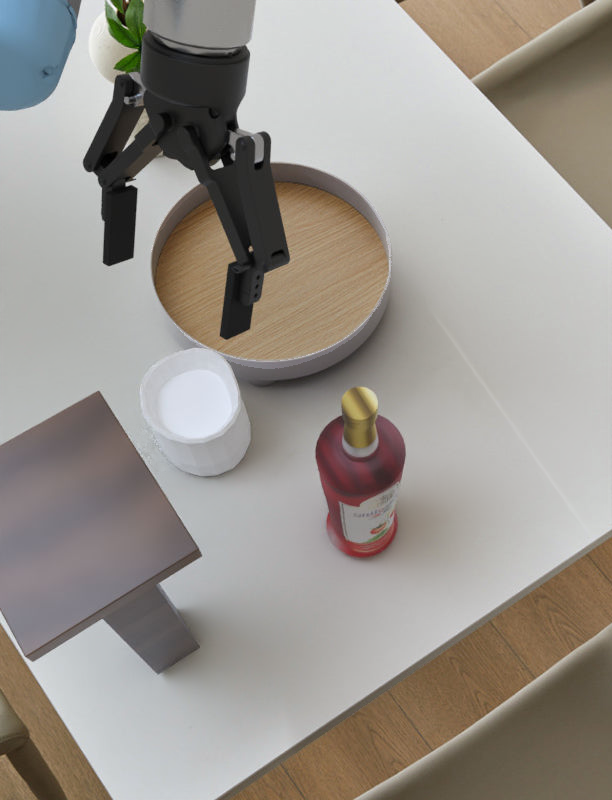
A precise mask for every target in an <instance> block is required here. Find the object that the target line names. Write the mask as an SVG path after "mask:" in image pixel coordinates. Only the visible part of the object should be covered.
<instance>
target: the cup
mask: <svg viewBox="0 0 612 800" xmlns="http://www.w3.org/2000/svg"><path fill="white" fill-rule="evenodd" d="M138 390H139V400H140V410H141V412H142V415H143V417H144V420H145V421H146V422H147V423H148V424H149V426H151V429H152V432H153V435H154V437H155V440H156V442H157V444H158V446H159V449H160V451H161V452H162V453H163V455H164V456H165V457H166V458H167V460H168V461H169V462H170V463H171V464H172V465H174V466H176V467H177V468H178V469H180V470H181V471H183V472H184V473H185V474H190V475H195V476H198V477H211V476H212V477H213V476H219V475H221V474H224V473H226V472H228V471H231V470H233V469H234V468H235V467H236V466H237V465H238V464H239V463H240V462H241V460H242V459H244V458H245V455H246V452H247V451H248V448H249V445H250V443H251V441H252V440H251V436H252V435H251V434H252V433H251V431H252V430H251V423H250V419H249V415H248V412H247V408H246V405H245V402H244V401H243V399H242V397H241V389H240V386H239V383H238V380H237V378H236V375H235V373H234V370H233V368H232V366H231V364H230V363H229V362H228V361H227V359H226V358H225V357H224V356H223V355H222V354H221V353H218V352H216V351H214V350H213V349H210V348H204V347H192V348H187V349H183V350H179V351H176V352H173V353H171V354H169V355H167V356H164V357H163V358H161V359H159V360H158V361H157V362H155V363H154V364H153V365H151V366H150V367H149V369H148V370H147V371H146V373H145V375H144V376H143V377H142V380H141V383H140V387H139V389H138Z"/></svg>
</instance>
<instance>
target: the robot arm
mask: <svg viewBox="0 0 612 800" xmlns="http://www.w3.org/2000/svg"><path fill="white" fill-rule="evenodd" d="M81 4H82V0H0V112H3V111H4V112H13V111H14V112H16V111H21V110H26V109H30V108H34V107H36V106H38V105H40V104H41V103H43V102H45V101H46V100H47V99H48V98H49V97H51V95H52V94H53V93H54V92H55V90H56V89H57V87H58V85H59V82H60V80H61V78H62V75H63V72H64V70H65V67H66V64H67V61H68V58H69V56H70V53H71V51H72V49H73V46H74V44H75V42H76V39H77V29H78V18H79V14H80V10H81ZM256 5H257V0H143V12H142V13H143V15H142V24H144V26H145V27H146V28H147V30H146V31H145V32H144V33H143V35H142V37H141V38H142V39H141V53H140V54H141V55H140V69H139V70H138V71H132V72H126V73H122V74H116V76H115V78H114V84H113V92H112V98H111V99H112V100H111V101H110V104H109V106H108V107H107V110H106V111H105V113H104V116H103V118H102V119H101V121H100V124H99V127H98V129H97V131H95V134H94V137H93V139H92V141H91V142H90V145H89V147H88V149H87V151H86V153H85V155H84V157H83V159H82V165H83V168H84V170H85V172H87V173H93V174H94V175H95V176H96V177H97V183H98V185H99V186H100V188H101V203H100V205H101V208H100V215H101V220H102V221H103V243H102V244H103V246H102V264H104V265H106V266H107V267H111V266H114V265H117V264H120V263H123V262H127V261H129V260H131V259H132V260H133V259H134V257H135V244H136V243H135V242H136V241H135V240H136V227H137V226H136V225H137V224H136V223H137V207H138V192H139V191H138V190H139V188H138V187H136V186H135V185H133V184H129V185H127V183H130V182H134V181H136V180H137V178H135V177H136V176H137V175H138V174H140V173H141V172H142V170H143V169H145V168H146V167H147V166H148V165H149V164H150V163H151V162H152V161H154V159H155V158H156V157H158V156H159V155H160V154H162V156H164V157H166V158H168V159H170V160H175V161H178V162H179V163H180V164H181V165H182V166H183V167H184V168H186V169H188V170H189V171H194V173H195V176H196V179H197V181H198V183H199V184H200V185H202V186H204V187H205V188H206V189H207V192H208V195H209V197H210V200H211V202H212V204H213V206H214V209H215V211H216V214H217V216H218V219H219V221H220V224H221V226H222V229H223V231H224V233H225V236H226V238H227V241H228V243H229V246H230V249H231V251H232V253H233V255H234V258H235V261H232V262H229V263H228V264H227V271H226V280H225V288H224V295H223V297H224V298H223V303H222V312H221V320H220V328H219V337H220V338H222V339H224V340H225V341H229V340H230V339H233V338H235V337H237V336H240V335H241V334H243V333H246V332H247V331H250V330H251V324H252V319H253V318H252V317H253V310H254V304H255V303H257V302H259V301H260V300H261V298H262V294H263V289H264V288H263V287H264V281H265V274H267V273H269V272H271V271H274V270H277V269H278V268H281V267H283V266H286V265H288V264H289V263H290V261H291V254H290V251H289V246H288V242H287V237H286V232H285V231H286V230H285V228H284V227H285V226H284V223H283V217H282V213H281V208H280V204H279V200H278V195H277V190H276V185H275V180H274V176H273V171H272V166H271V155H272V138H271V135H270V134H269V132H267V131H265V130H263V131H259V132H255V133H253V132H250V131H247V130H244V129H241V128H240V125H239V122H238V109H239V107H240V105H241V104H242V101H243V99H244V98H245V96H246V92H247V86H248V76H249V68H250V62H251V61H250V60H251V51H250V50H249V48H248V46H247V44H249V43H250V42H251V41H252V38H253V31H254V23H255V15H256V14H255V13H256ZM144 111H145V112H146V115H147V117H148V121H147V123H146V124H145V125H143V127H142V128H141V129H140V130H139V131H138V132H137V133H136V134H135V135H134V136H133V137H134V139H133V141H132V142H130V144H129V145H127V144H128V142H129V140H130V138H131V136H132V134H133V132H134V130H135V128H136V126H137V124H138V122H139V121H140V119H141V117H142V116H143V113H144ZM126 146H127V147H126ZM220 160H221V163H222V167H218V168H214V169H213V168H212V167H213V166H215V165H216V164H217V163H219V161H220ZM250 247H251V249H252V250H250Z"/></svg>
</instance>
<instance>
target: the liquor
mask: <svg viewBox="0 0 612 800" xmlns="http://www.w3.org/2000/svg"><path fill="white" fill-rule="evenodd" d="M340 403H341V404H340V405H341V407H340V408H341V415H339V416H336V417H335V418H334V419H332V420H331V421H330V422H328V423H327V424H326V426H324V428H323V429H322V430H321V432H320V434H319V436H318V438H317V440H316V445H315V451H314V453H315V454H314V455H315V456H314V457H315V462H316V467H317V469H318V475H319V479H320V483H321V488H322V492H323V495H324V497H325V501H326V505H327V509H328V512H327V516H326V521H325V522H326V523H325V524H326V525H325V527H326V531H327V535H328V537H329V539H330V541H331V542H332V544H333V546H334V547H336V548H337V549H338V550H339V551H340V552H341V553H344V554H345V555H348V556H351V557H354V558H368V557H373V556H374V557H375V556H377V555H378V554H381V553H382V552H383V551H385V550H386V549H387V548H388V547H389V546H390V545H391V544H392V542H393V541H394V539H395V538H396V535H397V533H398V526H399V518H398V515H397V511H396V505H397V500H398V496H399V491H400V488H401V485H402V479H403V472H404V467H405V463H406V456H407V453H406V452H407V451H406V443H405V439H404V437H403V435H402V434H401V431H400V430H399V428H397V426H396V425H395V423H393V422H392V421H391V420H389V419H388V418H386V417H384V415H383V416H382V415H381V414H378V413H379V401H378V397H377V395H376V393H375V392H374V391H373V390H371V389H370V388H368V387H366V386H365V387H364V386H355V387H352V388H349V389H348V390H346V392H345V393H344V394H343V396H342V398H341V401H340Z"/></svg>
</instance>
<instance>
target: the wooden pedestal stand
mask: <svg viewBox="0 0 612 800" xmlns="http://www.w3.org/2000/svg"><path fill="white" fill-rule="evenodd" d="M202 557H203V553H202V551H201V550H200V547H199V546H198V544H197V543H196V541H195V539H194V538H193V536H192V535H191V533H190V531H189V530H188V528H187V527H186V525H185V523H184V522H183V521H182V519H181V518H180V516H179V514H178V513H177V511H176V510H175V508H174V505H172V503H171V502H170V500H169V498H168V497H167V495H166V494H165V492H164V491H163V489H162V487H161V486H160V484H159V483H158V481H157V479H156V478H155V476H154V475H153V473H152V472H151V470H150V468H149V467H148V465H147V464H146V462H145V461H144V459H143V457H142V455H141V454H140V453H139V451H138V449H137V448H136V446H135V445H134V443H133V441H132V440H131V438H130V437H129V435H128V433H127V432H126V430H125V429H124V427H123V426H122V424H121V422H120V421H119V419H118V418H117V417H116V414H115V413H114V411H113V410H112V408H111V407H110V405H109V404H108V402H107V401H106V399H105V398H104V396H103V394H102V393H101V391H100V390H97V391H95V392H93V393H91V394H89V395H88V396H86V397H83V398H82V399H80V400H79V401H77V402H75V403H74V404H71V405H70V406H68V407H67V408H65V409H63V410H61V411H59V412H57V413H55V414H54V415H52V416H50V417H49V418H46V419H45V420H43V421H41V422H39V423H38V424H36V425H33V426H32V427H31V428H29V429H27V430H25V431H23V432H22V433H20V434H18V435H17V436H16V435H15V437H13V438H10V439H9V440H8V441H6V442H4V443H2V444H0V613H1V615H2V616H3V618H4V620H5V622H6V624H7V626H8V628H9V630H10V631H11V634H12V635H13V637H14V639H15V640H16V643H17V645H18V646H19V648H20V650H21V652H22V655H23V656H24V657H25V658H26V659H27V660H29V661H30V662H32V663H34V662H36V661H38V660H39V659H40V658H42V657H44V656H45V655H47V654H49V653H50V652H52V651H53V650H55V649H56V648H58V647H60V646H61V645H63V644H65V643H66V642H68V641H69V640H71V639H73V638H74V637H75V636H78V635H79V634H81V633H83V632H84V631H85V630H87V629H88V628H90V627H91V626H94V625H95V624H96V623H98V622H100V621H101V620H102V621H104V622H105V623H106V624H107V625H108V626H109V627H110V628H111V629H112V631H114V632H115V633H116V634H117V635H118V636H119V637H120V639H122V640H123V641H124V642H125V643H126V644H127V645H128V647H130V648H131V649H132V650H133V651H134V652H135V654H137V656H138V657H140V658H141V659H142V660H143V662H145V664H147V665H148V666H149V668H151V669H152V670H153V671H154V672H155V674H156V675H160V674H162V673H163V672H164V671H166V670H168V669H169V668H171V667H172V666H174V665H175V664H177V663H178V662H180V661H182V660H183V659H184V658H186V657H187V656H189V655H191V654H192V653H194V652H195V651H197V650H198V649H200V645H199V643H198V642H197V640H196V639H195V637H194V635H193V634H192V632H191V630H190V629H189V627H188V625H187V623H186V621H184V618H183V617H182V615H181V614H180V612H179V610H178V608H177V607H176V605H175V604H174V603H173V602H172V600H171V598H169V596H168V594H167V593H166V592H165V590H164V588H163V587H162V585H161V583H162V582H163V581H165V580H167V579H168V578H170V577H171V576H173V575H175V574H176V573H177V572H180V571H181V570H183V569H184V568H186V567H188V566H189V565H191V564H192V563H194V562H195V561H197V560H198V559H201V558H202Z"/></svg>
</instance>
